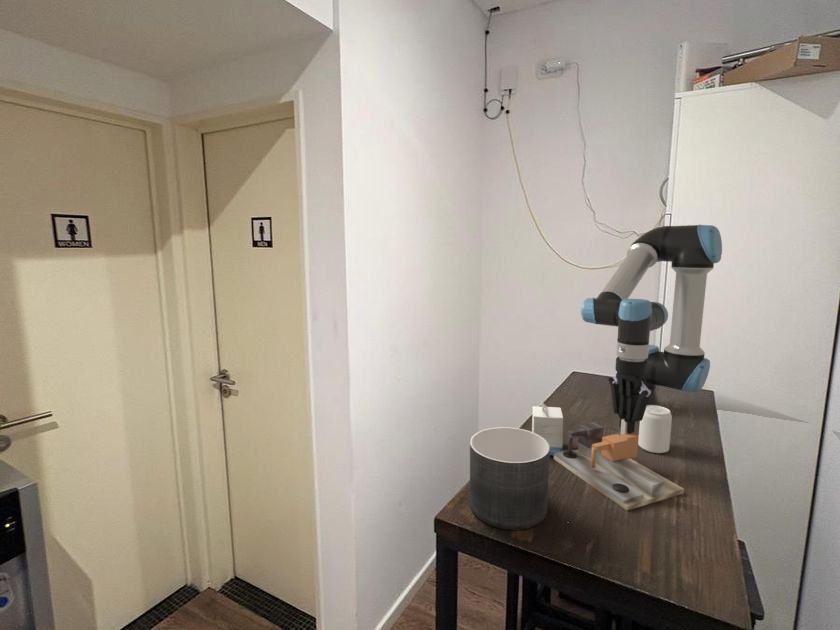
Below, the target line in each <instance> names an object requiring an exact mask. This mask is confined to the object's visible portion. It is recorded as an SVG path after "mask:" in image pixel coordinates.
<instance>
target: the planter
mask: <svg viewBox="0 0 840 630" xmlns="http://www.w3.org/2000/svg"><path fill="white" fill-rule="evenodd" d="M550 456H551V455H550V446H549V444H548V442H547V441H546V440H545V439H544V438H543V437H541V436H539V435H538V434H535V433H533V432H532V431H531V430H528V429H523V428H519V427H508V426H503V427H502V426H499V427H498V426H497V427H490V428H485V429H482V430H480V431H478V432H476V433H474V434H473V435H472V436H471V438H470V440H469V507H470V510H471V512H472V513H473V514H474V516H475V517H476V518H477V519H479V520H480V521H482V522H483V523H485V524H487V525H488V526H492V527H495V528H497V529H503V530H510V531H520V530H521V531H523V530H527V529H531V528H534V527H536V526H538V525H540V524H541V523H542V522H543V521H544V520H545V519H546V518H547V515H548V494H549V493H548V491H549V476H550V475H549V473H550Z"/></svg>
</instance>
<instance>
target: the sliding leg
mask: <svg viewBox="0 0 840 630" xmlns="http://www.w3.org/2000/svg"><path fill="white" fill-rule="evenodd" d="M638 440H639V434H636V433H635V432H633V433H626V434H621V435H620V434H618V433H615V434H610V435H606V436H603V437H602V442H599V443H595V444H592V456H591V468H595V459H596V452H598V451H601V455H603V456H604V457H606V458H608V459H609V460H611V461H617V460H621V459H626V460H627V459H635V458H637V457H638V450H639V444H638Z"/></svg>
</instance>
